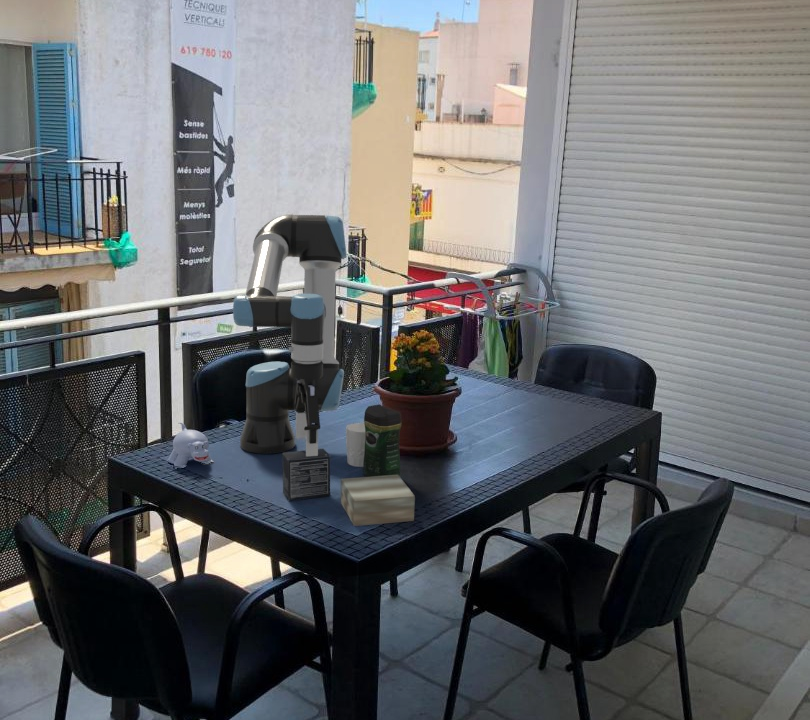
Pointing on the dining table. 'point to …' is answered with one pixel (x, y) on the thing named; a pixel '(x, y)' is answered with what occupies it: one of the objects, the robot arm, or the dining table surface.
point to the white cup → (355, 444)
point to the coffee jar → (381, 441)
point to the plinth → (377, 500)
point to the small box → (306, 475)
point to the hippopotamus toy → (189, 447)
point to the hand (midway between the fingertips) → (306, 446)
